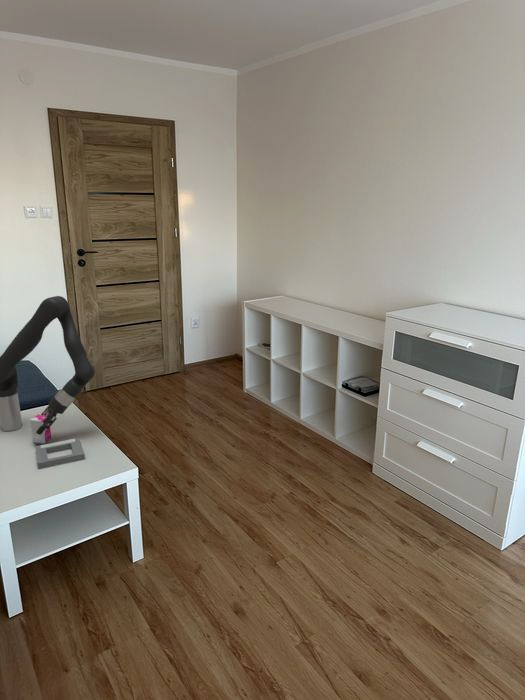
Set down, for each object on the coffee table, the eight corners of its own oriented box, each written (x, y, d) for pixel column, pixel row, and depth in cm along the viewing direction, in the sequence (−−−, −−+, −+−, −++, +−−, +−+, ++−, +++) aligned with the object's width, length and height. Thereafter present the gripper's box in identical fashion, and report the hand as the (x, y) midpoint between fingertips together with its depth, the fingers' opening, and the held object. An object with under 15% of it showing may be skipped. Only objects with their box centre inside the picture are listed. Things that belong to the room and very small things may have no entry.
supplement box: (44, 444, 218) (41, 420, 215) (32, 443, 220) (28, 419, 216) (52, 438, 224) (49, 415, 220) (40, 437, 225) (37, 414, 222)
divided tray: (36, 451, 215) (35, 445, 214) (79, 442, 222) (79, 437, 222) (38, 469, 201) (37, 462, 200) (85, 459, 209) (84, 453, 208)
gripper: (53, 391, 225) (29, 419, 224) (56, 402, 213) (30, 432, 211) (67, 399, 229) (43, 427, 227) (70, 411, 217) (45, 440, 215)
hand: (37, 429), depth 219 cm, fingers closed on supplement box, 8 cm apart
